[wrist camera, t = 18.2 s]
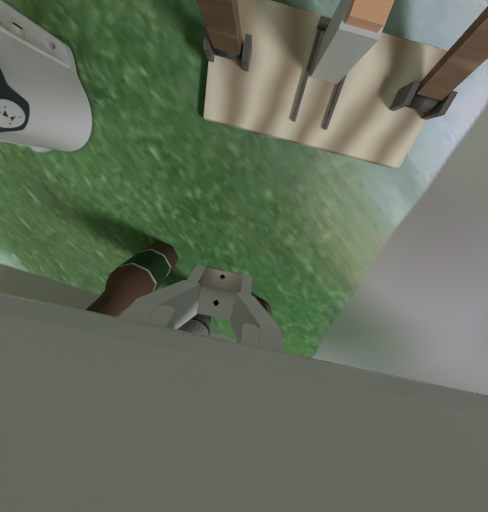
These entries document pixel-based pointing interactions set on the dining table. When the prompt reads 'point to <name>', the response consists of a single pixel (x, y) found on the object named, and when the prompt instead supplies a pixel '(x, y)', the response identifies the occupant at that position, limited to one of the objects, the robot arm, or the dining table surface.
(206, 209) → the dining table surface
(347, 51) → the slider
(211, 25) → the brown lever
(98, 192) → the dining table surface
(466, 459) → the robot arm
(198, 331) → the beverage cup
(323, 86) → the panel
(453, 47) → the wooden stick
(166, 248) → the beer bottle
